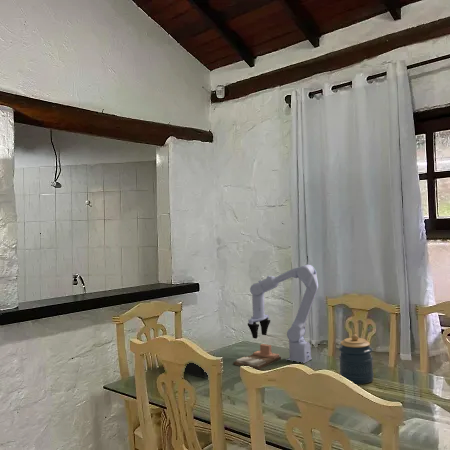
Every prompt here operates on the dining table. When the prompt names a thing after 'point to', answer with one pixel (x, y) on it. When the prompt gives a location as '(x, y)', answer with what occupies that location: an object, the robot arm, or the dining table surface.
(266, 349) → the stub
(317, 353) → the dining table surface
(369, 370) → the canister
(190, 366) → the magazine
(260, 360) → the ticket board
